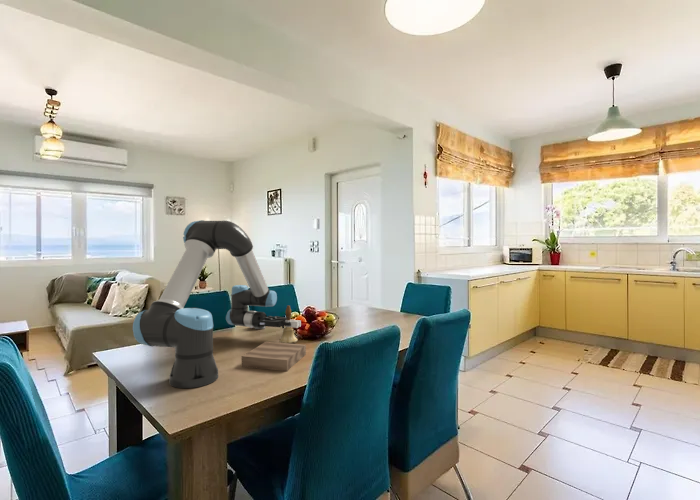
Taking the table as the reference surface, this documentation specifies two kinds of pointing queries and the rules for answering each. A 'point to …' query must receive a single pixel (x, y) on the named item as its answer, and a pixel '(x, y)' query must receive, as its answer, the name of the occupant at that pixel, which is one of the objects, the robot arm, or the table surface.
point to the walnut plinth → (274, 356)
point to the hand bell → (288, 330)
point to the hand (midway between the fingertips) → (299, 324)
